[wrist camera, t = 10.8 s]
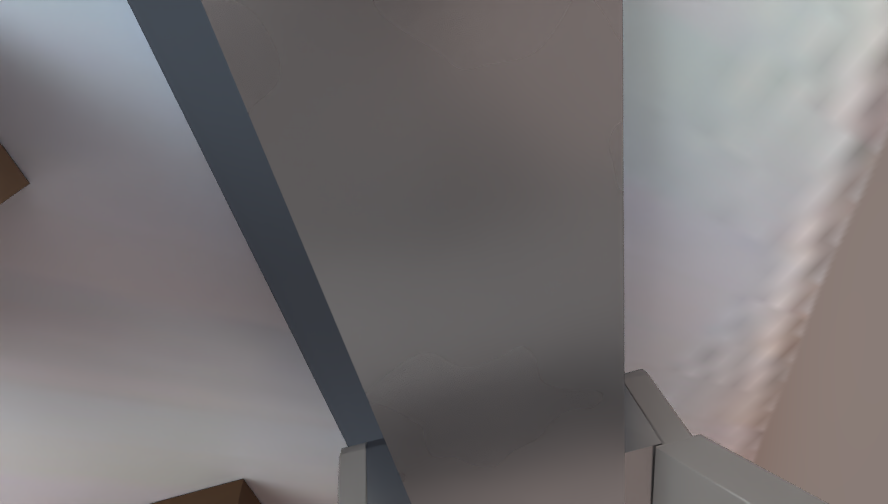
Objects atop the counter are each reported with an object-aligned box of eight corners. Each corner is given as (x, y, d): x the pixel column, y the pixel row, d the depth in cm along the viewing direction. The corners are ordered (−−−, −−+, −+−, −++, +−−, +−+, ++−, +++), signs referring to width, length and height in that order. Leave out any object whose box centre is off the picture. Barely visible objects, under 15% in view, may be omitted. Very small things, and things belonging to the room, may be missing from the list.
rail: (153, -344, 4) (-106, -737, 2) (471, -413, 5) (618, -880, 2) (495, 640, 16) (521, 767, 14) (583, 615, 16) (625, 737, 14)
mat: (-20, -332, 7) (-48, -354, 6) (595, -468, 7) (614, -500, 7) (406, 551, 20) (407, 567, 20) (615, 494, 20) (622, 508, 20)
